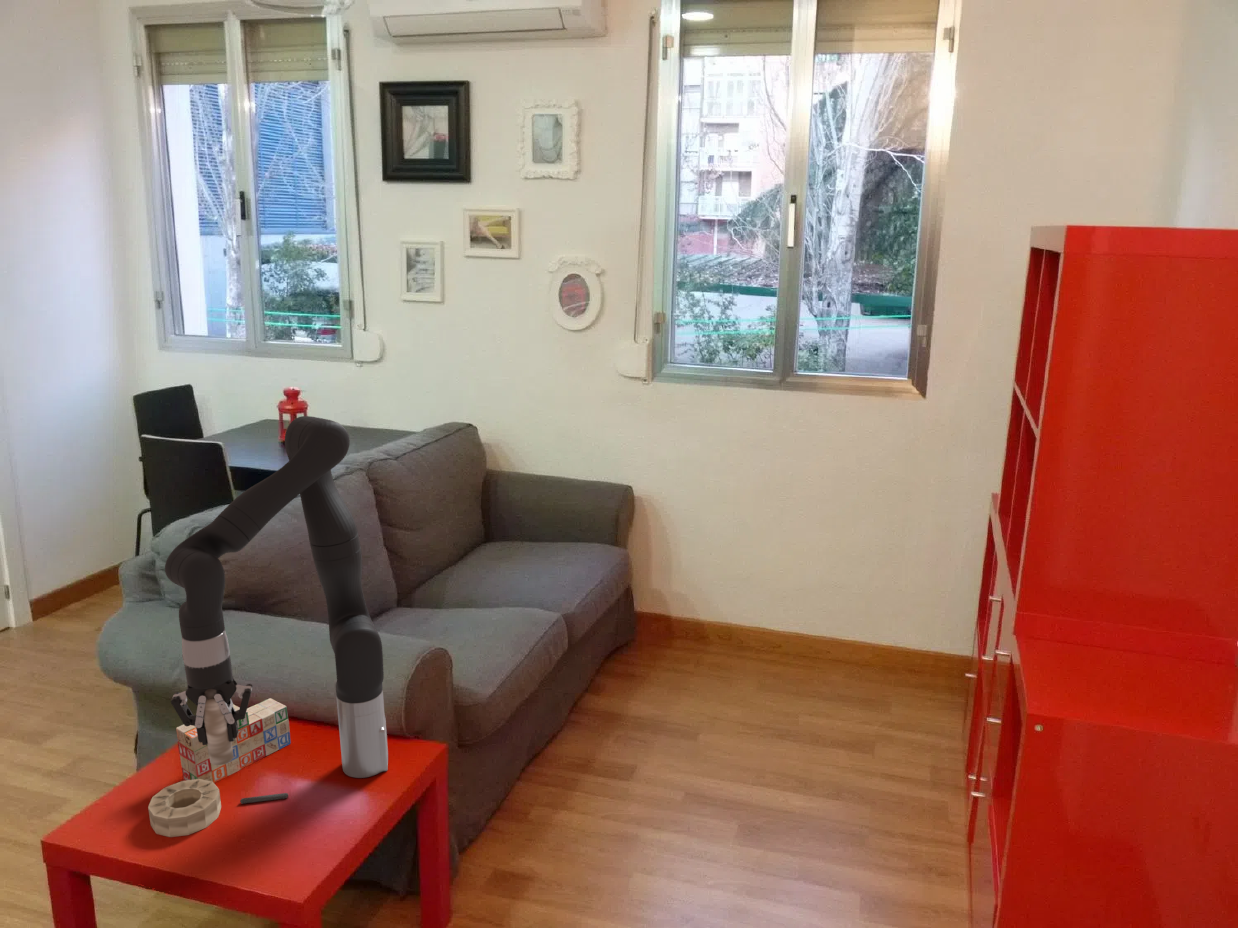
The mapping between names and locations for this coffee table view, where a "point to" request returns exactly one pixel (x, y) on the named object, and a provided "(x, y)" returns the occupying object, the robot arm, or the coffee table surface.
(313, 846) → the coffee table surface
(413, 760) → the coffee table surface
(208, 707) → the grey tipped beige rod
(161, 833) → the bead
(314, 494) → the robot arm
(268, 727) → the stack of blocks
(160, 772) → the coffee table surface
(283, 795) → the dark grey rod
